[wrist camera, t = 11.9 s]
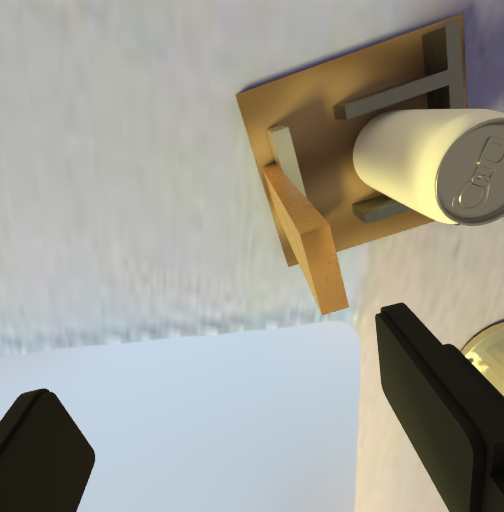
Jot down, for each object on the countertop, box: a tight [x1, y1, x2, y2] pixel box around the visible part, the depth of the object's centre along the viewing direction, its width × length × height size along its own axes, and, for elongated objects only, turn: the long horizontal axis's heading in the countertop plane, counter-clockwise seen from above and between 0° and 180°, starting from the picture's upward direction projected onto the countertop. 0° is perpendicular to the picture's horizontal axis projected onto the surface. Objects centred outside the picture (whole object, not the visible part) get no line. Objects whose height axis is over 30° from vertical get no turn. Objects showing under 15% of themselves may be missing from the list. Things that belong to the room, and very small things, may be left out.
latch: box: [262, 125, 349, 315], centre depth 21 cm, size 10×2×16 cm, turn 18°
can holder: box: [333, 21, 464, 225], centre depth 27 cm, size 15×9×3 cm, turn 18°
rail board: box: [236, 13, 467, 267], centre depth 29 cm, size 16×18×1 cm
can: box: [353, 109, 504, 226], centre depth 23 cm, size 6×6×12 cm
